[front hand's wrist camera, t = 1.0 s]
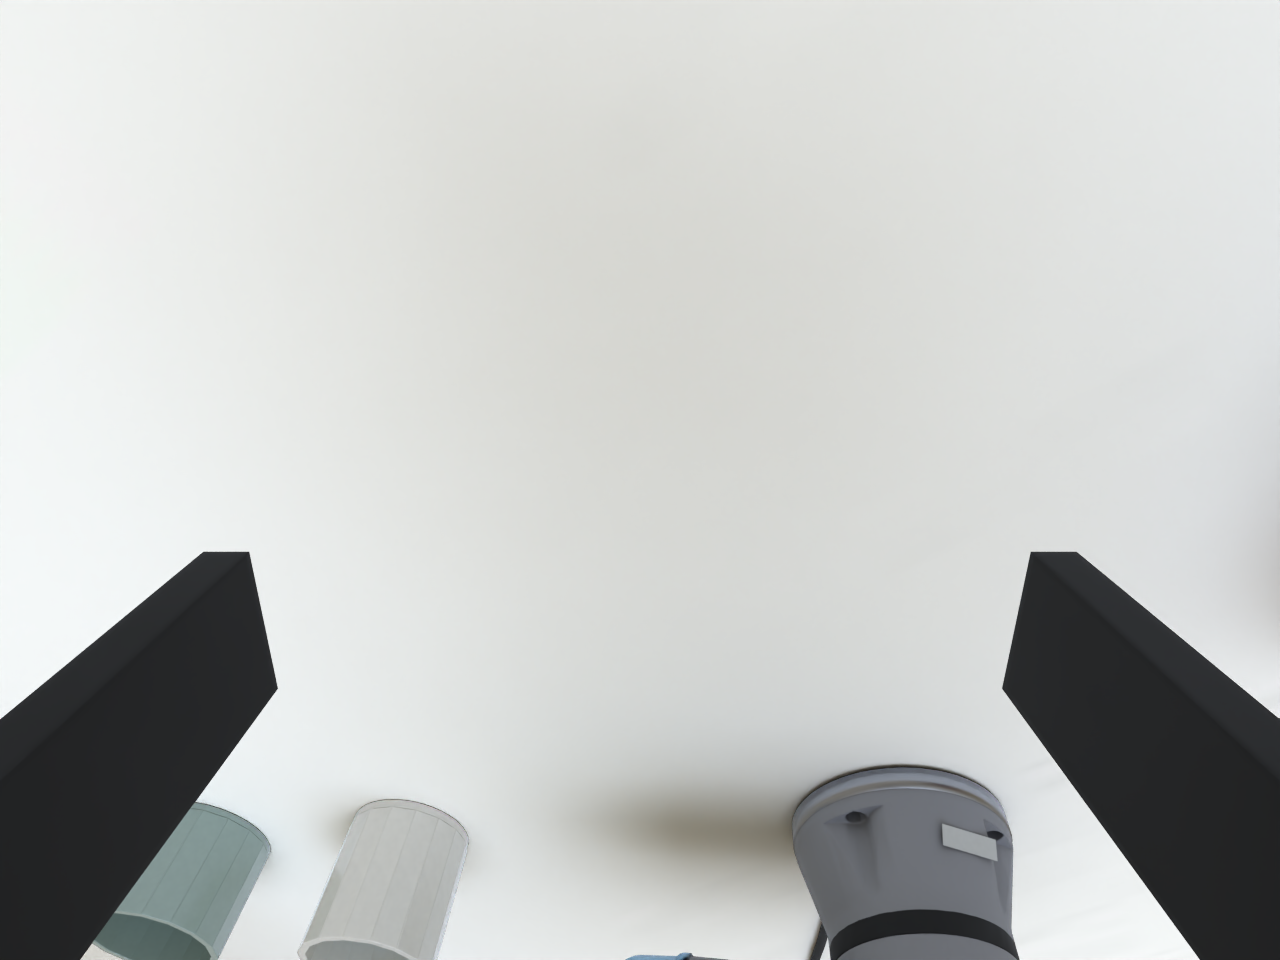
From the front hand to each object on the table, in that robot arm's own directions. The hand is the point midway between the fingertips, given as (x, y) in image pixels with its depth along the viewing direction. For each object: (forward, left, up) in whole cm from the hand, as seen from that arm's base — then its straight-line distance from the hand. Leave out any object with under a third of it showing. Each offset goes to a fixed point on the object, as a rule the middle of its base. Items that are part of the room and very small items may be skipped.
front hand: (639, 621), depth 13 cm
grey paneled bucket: (-53, +16, -23) cm, 60 cm away
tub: (-59, +35, -23) cm, 72 cm away
